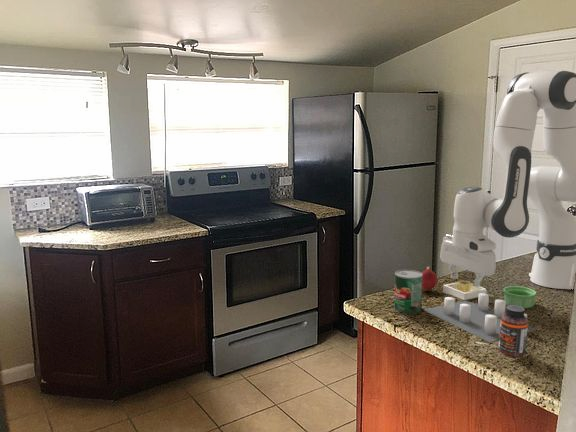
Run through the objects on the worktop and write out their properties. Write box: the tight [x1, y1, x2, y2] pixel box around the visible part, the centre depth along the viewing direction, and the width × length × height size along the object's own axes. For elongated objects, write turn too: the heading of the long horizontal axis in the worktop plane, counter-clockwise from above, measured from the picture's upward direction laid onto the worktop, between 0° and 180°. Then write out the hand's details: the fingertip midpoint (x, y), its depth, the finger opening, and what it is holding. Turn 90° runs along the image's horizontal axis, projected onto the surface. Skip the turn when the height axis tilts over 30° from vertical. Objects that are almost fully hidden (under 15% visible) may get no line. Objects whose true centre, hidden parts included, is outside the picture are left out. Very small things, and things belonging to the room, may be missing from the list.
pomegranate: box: [421, 266, 438, 292], centre depth 167 cm, size 6×6×8 cm
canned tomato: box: [393, 269, 423, 314], centre depth 152 cm, size 8×8×11 cm
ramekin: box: [502, 285, 537, 309], centre depth 155 cm, size 9×9×4 cm
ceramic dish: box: [442, 282, 487, 301], centre depth 164 cm, size 9×9×2 cm
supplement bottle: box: [498, 305, 529, 358], centre depth 123 cm, size 6×6×11 cm
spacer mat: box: [422, 292, 538, 343], centre depth 143 cm, size 17×25×5 cm
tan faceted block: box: [456, 279, 473, 293], centre depth 164 cm, size 5×4×4 cm
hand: (465, 282), depth 164 cm, fingers open, 8 cm apart
